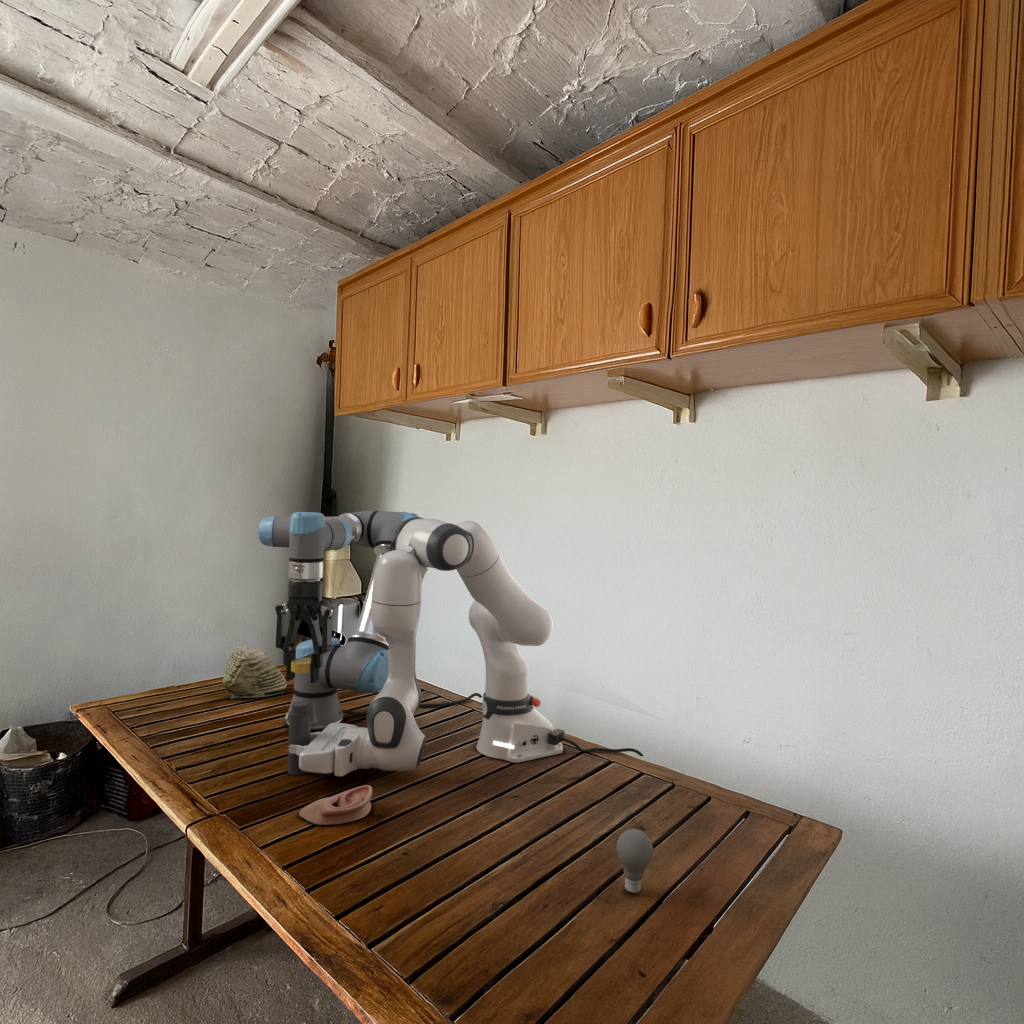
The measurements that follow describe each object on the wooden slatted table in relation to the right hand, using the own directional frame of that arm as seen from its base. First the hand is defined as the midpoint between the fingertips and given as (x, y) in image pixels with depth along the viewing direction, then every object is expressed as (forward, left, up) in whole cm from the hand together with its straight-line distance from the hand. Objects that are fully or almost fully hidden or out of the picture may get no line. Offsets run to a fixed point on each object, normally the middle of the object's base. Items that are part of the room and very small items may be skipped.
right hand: (295, 743), depth 146 cm
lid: (-1, 0, +19) cm, 19 cm away
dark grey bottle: (-1, 0, -6) cm, 6 cm away
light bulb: (-51, +63, -6) cm, 81 cm away
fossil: (+10, -60, -6) cm, 61 cm away
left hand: (-1, 0, +14) cm, 15 cm away
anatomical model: (-7, +22, -6) cm, 24 cm away
